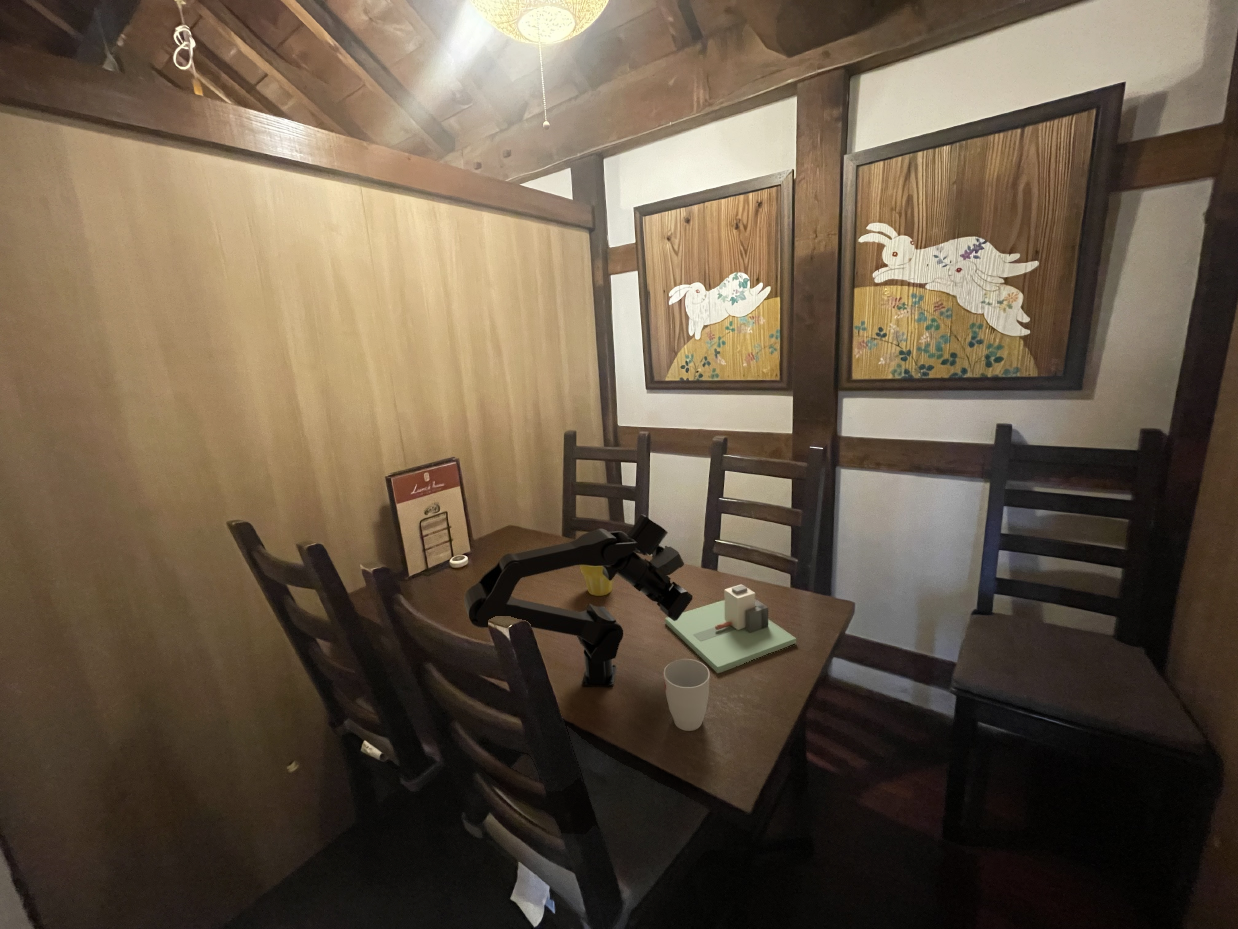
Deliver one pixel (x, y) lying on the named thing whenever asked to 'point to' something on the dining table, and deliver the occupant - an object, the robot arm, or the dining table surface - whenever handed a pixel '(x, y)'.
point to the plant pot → (596, 580)
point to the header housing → (757, 617)
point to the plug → (737, 606)
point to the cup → (687, 692)
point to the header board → (726, 637)
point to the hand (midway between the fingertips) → (683, 606)
